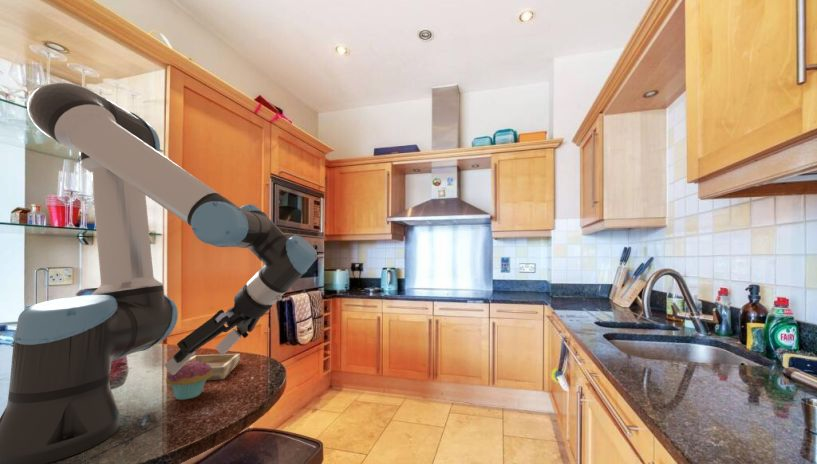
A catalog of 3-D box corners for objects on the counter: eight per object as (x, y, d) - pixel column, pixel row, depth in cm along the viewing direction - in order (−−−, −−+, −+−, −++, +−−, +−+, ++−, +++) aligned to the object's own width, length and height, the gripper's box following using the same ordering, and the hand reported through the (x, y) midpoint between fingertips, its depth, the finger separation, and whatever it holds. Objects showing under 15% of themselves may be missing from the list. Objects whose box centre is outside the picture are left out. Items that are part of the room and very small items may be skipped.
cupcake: (176, 407, 66) (180, 347, 67) (156, 397, 70) (161, 341, 71) (218, 392, 74) (221, 338, 75) (198, 384, 78) (201, 334, 79)
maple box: (223, 379, 81) (224, 367, 82) (170, 381, 79) (171, 369, 80) (239, 364, 93) (240, 353, 94) (194, 366, 91) (194, 355, 91)
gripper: (229, 316, 58) (153, 395, 60) (299, 300, 83) (244, 356, 84) (205, 286, 60) (132, 364, 61) (281, 278, 84) (227, 334, 86)
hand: (196, 359), depth 73 cm, fingers open, 13 cm apart
